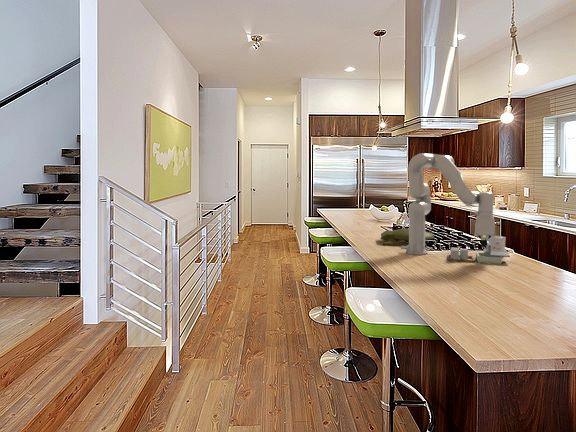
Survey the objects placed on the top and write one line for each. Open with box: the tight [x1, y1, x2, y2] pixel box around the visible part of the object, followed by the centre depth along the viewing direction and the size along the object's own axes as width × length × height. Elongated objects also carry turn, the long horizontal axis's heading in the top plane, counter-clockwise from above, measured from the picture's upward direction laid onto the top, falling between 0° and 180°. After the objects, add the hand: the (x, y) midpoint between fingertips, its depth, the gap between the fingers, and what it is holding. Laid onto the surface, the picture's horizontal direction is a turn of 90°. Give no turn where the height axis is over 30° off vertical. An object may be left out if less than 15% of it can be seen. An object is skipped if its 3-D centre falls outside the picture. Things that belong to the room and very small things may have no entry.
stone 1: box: [450, 246, 460, 259], centre depth 278 cm, size 4×4×6 cm
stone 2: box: [449, 248, 460, 259], centre depth 273 cm, size 4×4×6 cm
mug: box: [483, 235, 507, 252], centre depth 287 cm, size 12×9×11 cm
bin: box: [475, 251, 503, 265], centre depth 272 cm, size 12×12×4 cm
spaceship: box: [380, 227, 435, 247], centre depth 332 cm, size 35×31×10 cm
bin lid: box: [483, 242, 511, 258], centre depth 270 cm, size 12×12×6 cm
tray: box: [446, 254, 476, 263], centre depth 276 cm, size 14×13×1 cm
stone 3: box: [459, 248, 469, 260], centre depth 275 cm, size 4×4×6 cm
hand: (483, 246), depth 271 cm, fingers closed
